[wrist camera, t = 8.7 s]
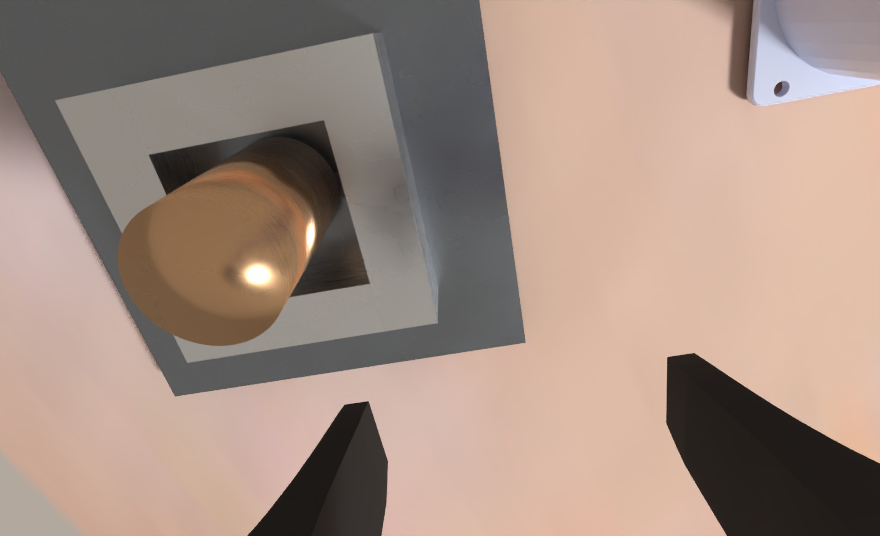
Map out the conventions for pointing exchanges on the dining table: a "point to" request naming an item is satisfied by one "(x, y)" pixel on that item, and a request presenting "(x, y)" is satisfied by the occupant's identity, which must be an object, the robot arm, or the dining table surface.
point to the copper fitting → (230, 242)
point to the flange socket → (301, 118)
